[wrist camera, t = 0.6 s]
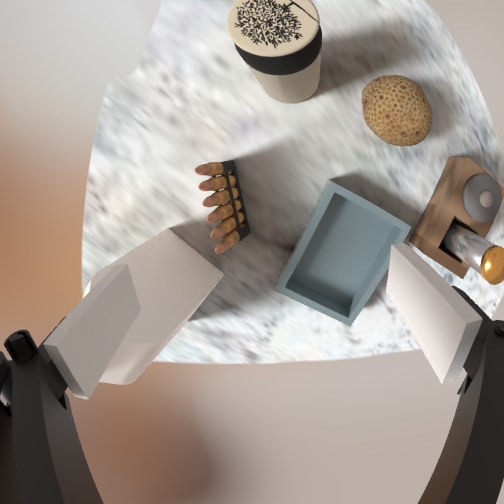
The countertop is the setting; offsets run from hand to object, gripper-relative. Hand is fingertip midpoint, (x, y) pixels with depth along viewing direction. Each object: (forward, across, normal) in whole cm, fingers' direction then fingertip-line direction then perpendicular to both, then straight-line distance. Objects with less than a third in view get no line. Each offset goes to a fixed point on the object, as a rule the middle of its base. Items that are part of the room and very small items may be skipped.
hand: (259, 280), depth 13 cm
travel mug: (+28, +5, +15) cm, 33 cm away
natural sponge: (+26, +18, +9) cm, 33 cm away
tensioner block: (+23, +27, -4) cm, 36 cm away
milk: (+29, -15, -14) cm, 35 cm away
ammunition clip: (+28, -4, -2) cm, 28 cm away
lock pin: (+23, +26, -7) cm, 35 cm away
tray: (+25, +10, -9) cm, 28 cm away
